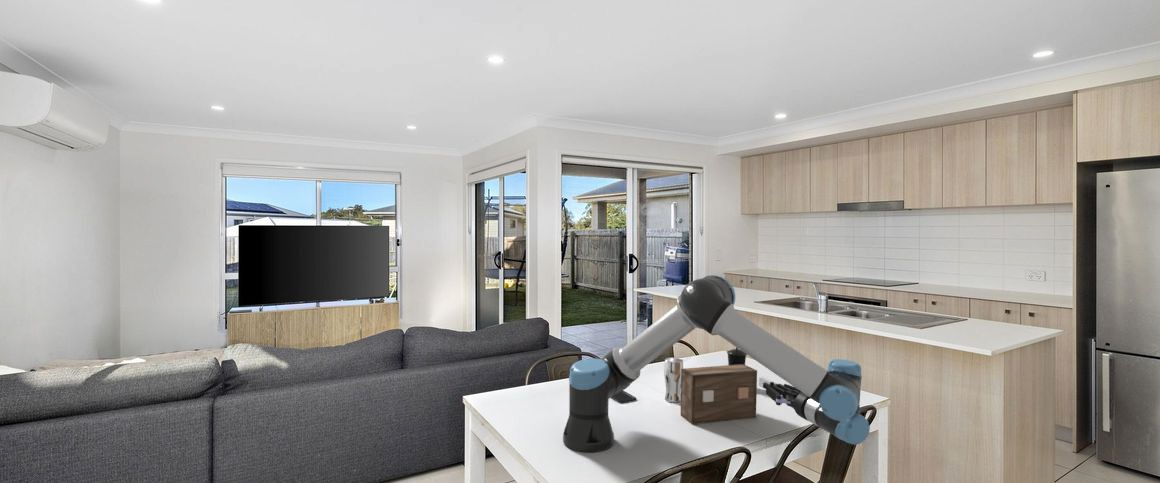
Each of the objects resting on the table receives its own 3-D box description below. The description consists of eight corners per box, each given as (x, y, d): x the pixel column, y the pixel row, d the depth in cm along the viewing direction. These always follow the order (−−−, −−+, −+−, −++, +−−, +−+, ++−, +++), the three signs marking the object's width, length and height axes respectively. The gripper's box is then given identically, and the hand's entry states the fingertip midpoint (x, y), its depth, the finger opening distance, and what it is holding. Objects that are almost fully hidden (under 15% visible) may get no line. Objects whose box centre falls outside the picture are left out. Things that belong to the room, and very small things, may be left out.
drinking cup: (748, 385, 207) (749, 336, 206) (743, 390, 200) (744, 339, 199) (729, 381, 211) (730, 333, 210) (723, 386, 204) (724, 337, 204)
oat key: (713, 401, 167) (713, 390, 167) (703, 402, 166) (703, 391, 166) (704, 395, 172) (704, 384, 172) (694, 396, 171) (695, 385, 171)
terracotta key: (748, 398, 170) (748, 387, 170) (738, 398, 169) (738, 388, 169) (738, 392, 176) (738, 382, 176) (729, 393, 175) (729, 382, 175)
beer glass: (686, 399, 189) (687, 359, 188) (676, 404, 184) (676, 363, 183) (670, 395, 193) (671, 356, 193) (660, 400, 188) (660, 359, 188)
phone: (616, 386, 201) (637, 398, 188) (616, 389, 201) (637, 401, 188) (598, 389, 197) (619, 401, 184) (598, 392, 197) (619, 404, 184)
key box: (756, 417, 172) (757, 370, 172) (691, 424, 166) (692, 375, 165) (742, 409, 180) (743, 364, 179) (680, 415, 174) (681, 368, 173)
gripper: (793, 424, 137) (742, 394, 160) (833, 420, 140) (778, 391, 163) (794, 396, 136) (743, 370, 159) (834, 393, 140) (779, 368, 163)
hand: (761, 381), depth 161 cm, fingers closed
